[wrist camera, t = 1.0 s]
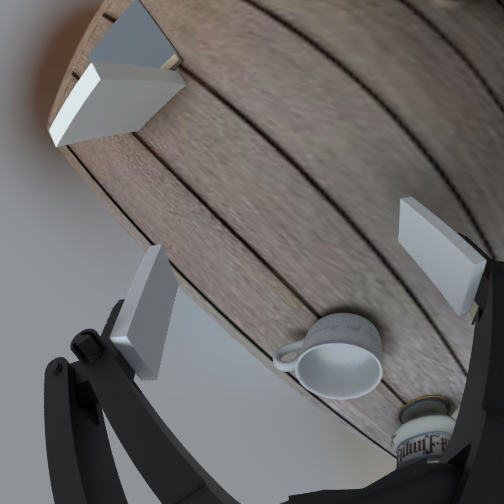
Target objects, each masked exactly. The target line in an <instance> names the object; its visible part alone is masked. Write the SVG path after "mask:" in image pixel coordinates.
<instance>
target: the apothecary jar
mask: <svg viewBox="0 0 504 504" xmlns="http://www.w3.org/2000/svg"><path fill="white" fill-rule="evenodd" d="M447 402H448V400H447V399H446V398H444V397H442V396H424V397H420V398H417V399H415V400H412V401H411V402H409V403H407V404H406V405H405V406H404V407H403V408H402V409H401V410H400V412H399V420H400V421H401V423H403V424H402V425H401V426H399V427H398V428H397V429H396V430H395V432H394V433H393V435H392V437H391V447H392V449H393V450H394V452H395V453H396V454H397V467H396V469H399V468H401V467H404V466H407V465H409V464H412V463H414V462H417V461H419V460H421V459H424V458H426V460H427V463H432V462H439V460H440V458H441V456H442V454H443V452H444V451H445V449H446V448H447V446H448V444H449V442H450V439H451V436H452V433H453V430H454V427H455V423H456V420H455V419H454V418H453V417H451V416H449V415H447V414H448V412H449V410H450V405H449V404H447Z"/></svg>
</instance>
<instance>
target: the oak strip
mask: <svg viewBox="0 0 504 504" xmlns="http://www.w3.org/2000/svg"><path fill="white" fill-rule="evenodd" d="M181 59H182V58H181ZM181 59H180V57H179V56H178V54H174V55H173V56H172V57H171V58H170V59H169V60H167V61H166V62H165V63H164V64H163V65H162V66H161V67H160V69H167V70H174V69H175V68H176V67H177V66H178V65H180V64H181V63H182V62H183V60H181Z"/></svg>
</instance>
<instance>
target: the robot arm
mask: <svg viewBox="0 0 504 504" xmlns="http://www.w3.org/2000/svg"><path fill="white" fill-rule="evenodd" d="M398 242H399V243H400V244H401V245H402V246H403V247H404V249H405V250H406V251H407V252H408V253H409V254H410V255H411V257H412V258H413V259H414V260H415V261H416V263H417V264H418V265H419V266H420V267H421V269H422V270H423V271H424V272H425V273H426V275H427V276H428V277H429V278H430V280H431V281H432V282H433V283H434V285H435V286H436V287H437V288H438V290H439V291H440V292H441V294H442V295H443V296H444V297H445V299H446V300H447V301H448V303H449V304H450V305H451V307H452V308H453V309H454V311H455V312H456V314H457V315H458V316H461V315H463V314H466V313H468V312H470V311H471V309H472V306H473V303H474V301H475V302H476V304H477V305H478V309H477V311H476V314H475V316H474V319H473V321H472V324H471V325H474V322H475V330H474V338H473V345H472V352H471V359H470V364H469V370H468V375H467V380H466V385H465V389H464V393H463V398H462V402H461V406H460V409H459V413H458V417H457V420H456V423H455V427H454V430H453V433H452V436H451V439H450V442H449V444H448V446H447V448H446V449H445V451H444V452H443V454H442V456H441V458H440V460H439V462H432V463H427V460H426V458H424V459H421V460H419V461H417V462H414V463H412V464H409V465H407V466H404V467H401V468H399V469H396V470H394V471H393V472H391V473H389V474H388V475H386V476H384V477H383V478H381V479H379V480H378V481H376V482H374V483H372V484H371V485H369V486H367V487H365V488H362V489H348V490H321V491H316V492H310V493H304V494H299V495H291V496H289V500H288V501H286V502H283V503H281V504H504V262H502V261H497V262H494V261H493V260H492V259H491V258H490V257H489V256H488V255H487V254H485V253H484V252H483V251H482V250H481V249H480V248H478V246H477V245H476V244H475V243H474V244H473V242H472V241H471V240H470V239H469V238H468V237H466V236H464V235H462V234H460V233H456V232H455V231H454V230H453V229H451V228H450V227H449V226H448V225H447V224H445V223H444V222H443V221H442V220H441V219H439V218H438V217H437V216H436V215H434V214H433V213H432V212H431V211H429V210H428V209H427V208H426V207H424V206H423V205H422V204H421V203H419V202H418V201H417V200H415V199H414V198H413V197H406V198H400V220H399V237H398ZM177 288H178V282H177V280H176V278H175V275H174V273H173V270H172V268H171V265H170V263H169V260H168V258H167V255H166V253H165V250H164V248H163V245H162V244H159V245H155V246H150V247H149V248H148V250H147V253H146V255H145V257H144V259H143V261H142V263H141V266H140V267H139V270H138V272H137V274H136V276H135V278H134V280H133V283H132V285H131V287H130V289H129V292H128V294H127V296H126V299H123V300H119V302H118V303H117V304H116V305H115V306H114V307H113V309H112V311H111V313H110V317H109V318H108V320H107V324H106V325H105V327H104V330H103V332H102V334H101V337H100V336H99V335H98V333H97V332H96V331H95V330H94V329H85V330H83V331H81V332H80V333H78V334H77V335H76V336H75V337H74V339H73V340H72V342H71V350H72V352H73V353H74V354H75V355H76V356H77V358H78V359H79V360H80V361H77V362H74V363H71V364H70V363H68V361H67V360H66V359H65V358H63V357H58V358H55V359H54V360H52V361H51V362H50V363H49V364H48V366H47V368H46V370H45V380H44V417H45V418H44V419H45V438H46V450H47V459H48V467H49V475H50V481H51V487H52V492H53V498H54V502H55V504H128V502H127V499H126V497H125V494H124V491H123V488H122V485H121V482H120V479H119V476H118V473H117V469H116V466H115V462H114V459H113V455H112V452H111V448H110V444H109V440H108V435H107V431H106V427H105V422H104V417H103V412H102V409H103V411H104V413H105V415H106V417H107V419H108V420H109V422H110V424H111V426H112V428H113V430H114V431H115V433H116V435H117V437H118V438H119V440H120V442H121V444H122V445H123V447H124V449H125V450H126V452H127V454H128V455H129V457H130V458H131V460H132V462H133V463H134V465H135V466H136V468H137V469H138V471H139V472H140V474H141V475H142V477H143V478H144V479H145V481H146V483H147V484H148V485H149V487H150V488H151V489H152V491H153V492H154V494H155V495H156V496H157V498H158V499H159V500H160V501H161V503H162V504H240V503H239V502H238V501H236V500H235V499H234V498H233V497H232V496H230V495H229V494H228V493H227V492H226V491H225V490H224V489H223V488H222V487H221V486H220V485H219V484H218V483H217V482H216V481H215V480H214V479H213V478H212V477H211V476H210V475H209V474H208V473H207V472H206V471H205V470H204V468H203V467H202V466H201V465H200V464H199V463H198V462H197V461H196V460H195V459H194V458H193V456H192V455H191V454H190V453H189V452H188V451H187V450H186V449H185V447H184V446H183V445H182V444H181V443H180V441H179V440H178V439H177V438H176V437H175V435H174V434H173V433H172V432H171V430H170V429H169V428H168V427H167V426H166V424H165V423H164V422H163V420H162V419H161V418H160V416H159V415H158V414H157V412H156V411H155V410H154V408H153V407H152V406H151V404H150V403H149V401H148V400H147V399H146V397H145V396H144V394H143V393H142V391H141V390H140V389H139V387H138V386H137V384H136V383H135V382H134V381H133V379H134V375H135V373H136V374H137V376H138V377H139V378H140V379H141V380H142V381H145V380H157V378H158V372H159V368H160V363H161V358H162V353H163V348H164V344H165V339H166V335H167V330H168V326H169V321H170V317H171V313H172V308H173V304H174V300H175V296H176V292H177Z"/></svg>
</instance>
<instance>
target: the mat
mask: <svg viewBox="0 0 504 504" xmlns="http://www.w3.org/2000/svg"><path fill="white" fill-rule="evenodd" d="M174 54H178V52H177V51H176V49H175V48H174V46H173V45H172V44H171V42H170V41H169V39H168V38H167V37H166V35H165V34H164V32H163V31H162V30H161V28H160V27H159V26H158V24H157V23H156V22H155V20H154V19H153V17H152V16H151V15H150V13H149V12H148V11H147V9H146V8H145V7H144V5H143V4H142V3H141V1H140V0H135V1H134V2H133V3H132V4H131V5H130V6H129V7H128V8H127V9H126V11H125V12H124V13H123V14H122V15H121V16H120V17H119V18H118V19H117V21H116V22H115V23H114V24H113V25H112V26H111V28H110V29H109V30H108V31H107V32H106V34H105V35H104V36H103V37H102V39H101V40H100V41H99V42H98V44H97V45H96V46H95V48H94V49H93V50H92V52H91V53H90V54H89V56H88V57H87V58H88V60H89V62H90V64H91V63H92V62H96V63H114V64H126V65H136V66H145V67H153V68H160V67H161V66H162V65H163V64H164V63H165V62H166V61H167V60H169V59H170V58H171V57H172V56H173V55H174ZM178 56H179V57H180V59H181V56H180V55H179V54H178ZM181 60H183V59H181Z"/></svg>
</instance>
